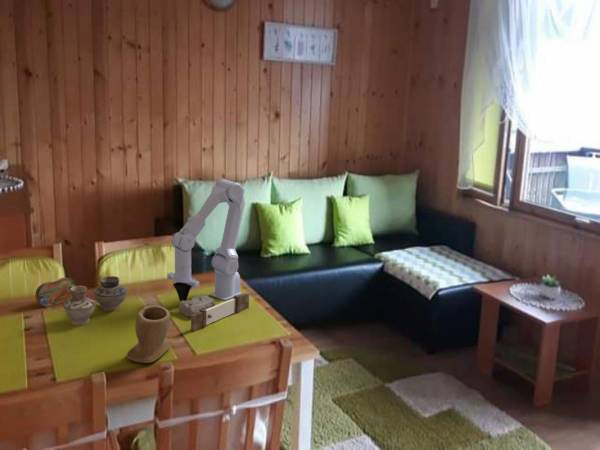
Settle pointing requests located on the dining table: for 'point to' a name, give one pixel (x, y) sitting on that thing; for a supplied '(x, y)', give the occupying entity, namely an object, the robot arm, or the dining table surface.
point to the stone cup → (151, 334)
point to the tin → (55, 291)
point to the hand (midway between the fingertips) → (183, 301)
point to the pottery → (105, 295)
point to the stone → (196, 305)
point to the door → (220, 311)
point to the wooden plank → (200, 317)
